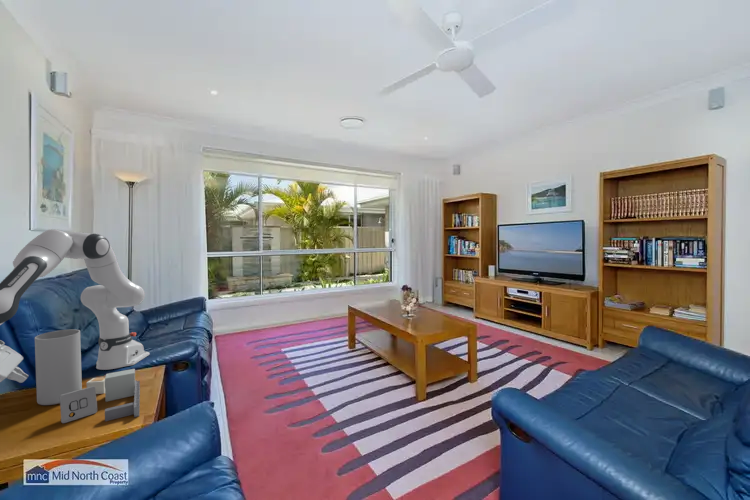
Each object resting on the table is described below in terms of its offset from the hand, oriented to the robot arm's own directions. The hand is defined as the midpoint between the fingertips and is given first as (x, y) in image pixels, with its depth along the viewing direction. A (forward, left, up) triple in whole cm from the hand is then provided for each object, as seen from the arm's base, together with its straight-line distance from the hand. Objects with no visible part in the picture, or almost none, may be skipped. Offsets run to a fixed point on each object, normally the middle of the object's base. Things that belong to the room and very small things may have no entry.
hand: (25, 379), depth 105 cm
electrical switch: (-8, +9, -17) cm, 21 cm away
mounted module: (-23, +12, -16) cm, 30 cm away
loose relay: (-25, 0, -16) cm, 30 cm away
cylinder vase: (-19, -10, -17) cm, 27 cm away
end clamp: (-9, +24, -16) cm, 30 cm away
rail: (-19, +22, -16) cm, 33 cm away
